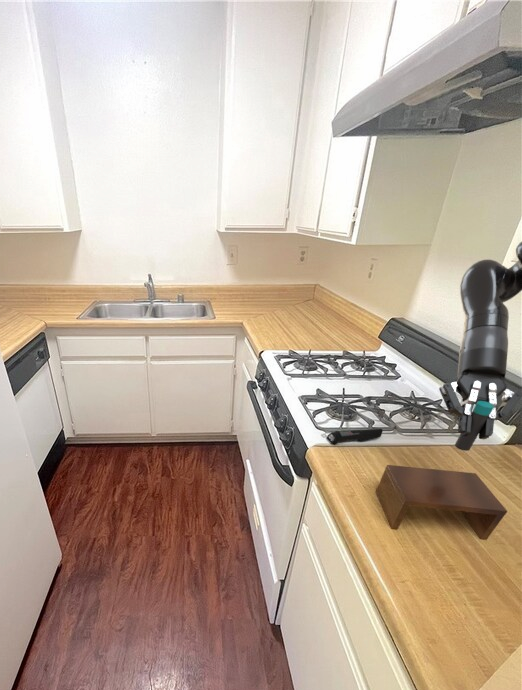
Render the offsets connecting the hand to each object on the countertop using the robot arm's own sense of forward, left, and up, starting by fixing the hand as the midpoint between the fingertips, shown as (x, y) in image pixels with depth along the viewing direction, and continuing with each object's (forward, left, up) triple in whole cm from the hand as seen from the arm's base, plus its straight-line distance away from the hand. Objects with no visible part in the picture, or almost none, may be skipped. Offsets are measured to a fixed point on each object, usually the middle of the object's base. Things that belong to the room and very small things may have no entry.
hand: (474, 436), depth 67 cm
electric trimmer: (+13, -23, -18) cm, 32 cm away
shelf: (+4, +4, -18) cm, 19 cm away
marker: (0, -2, -4) cm, 4 cm away
